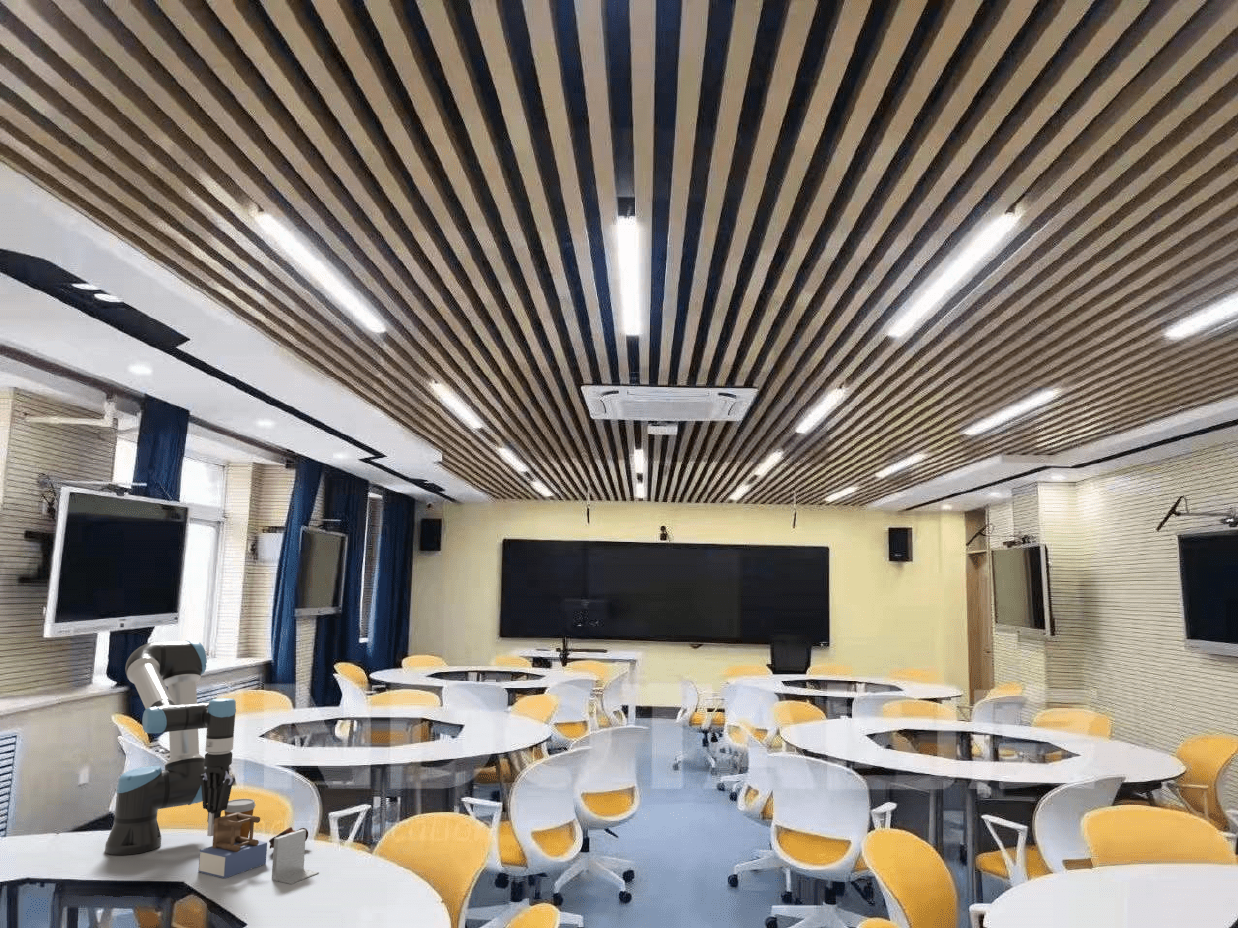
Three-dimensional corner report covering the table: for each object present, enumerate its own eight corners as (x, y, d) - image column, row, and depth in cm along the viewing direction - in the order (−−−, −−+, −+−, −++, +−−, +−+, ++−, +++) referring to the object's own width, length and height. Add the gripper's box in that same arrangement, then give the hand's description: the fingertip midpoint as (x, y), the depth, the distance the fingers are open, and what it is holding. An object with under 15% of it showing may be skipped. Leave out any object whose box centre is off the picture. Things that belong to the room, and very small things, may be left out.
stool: (212, 847, 242) (214, 818, 243) (235, 840, 249) (238, 811, 250) (235, 852, 238) (237, 822, 239) (258, 844, 245) (260, 816, 246)
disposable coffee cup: (258, 837, 272) (261, 798, 274) (243, 846, 263) (245, 806, 265) (231, 836, 273) (233, 797, 275) (214, 845, 264) (217, 805, 266)
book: (198, 871, 239) (199, 849, 240) (240, 858, 252) (241, 836, 252) (224, 878, 234) (225, 855, 235) (265, 863, 247) (267, 842, 248)
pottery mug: (288, 861, 251) (276, 836, 252) (271, 870, 255) (259, 845, 256) (319, 840, 261) (308, 816, 263) (303, 849, 266) (291, 825, 267)
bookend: (271, 879, 234) (274, 837, 235) (299, 869, 242) (302, 829, 244) (290, 884, 230) (293, 841, 232) (318, 873, 239) (321, 832, 241)
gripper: (193, 751, 251) (186, 835, 248) (222, 755, 246) (216, 841, 242) (215, 747, 258) (209, 828, 254) (244, 751, 252) (238, 834, 249)
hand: (212, 834), depth 248 cm, fingers closed
